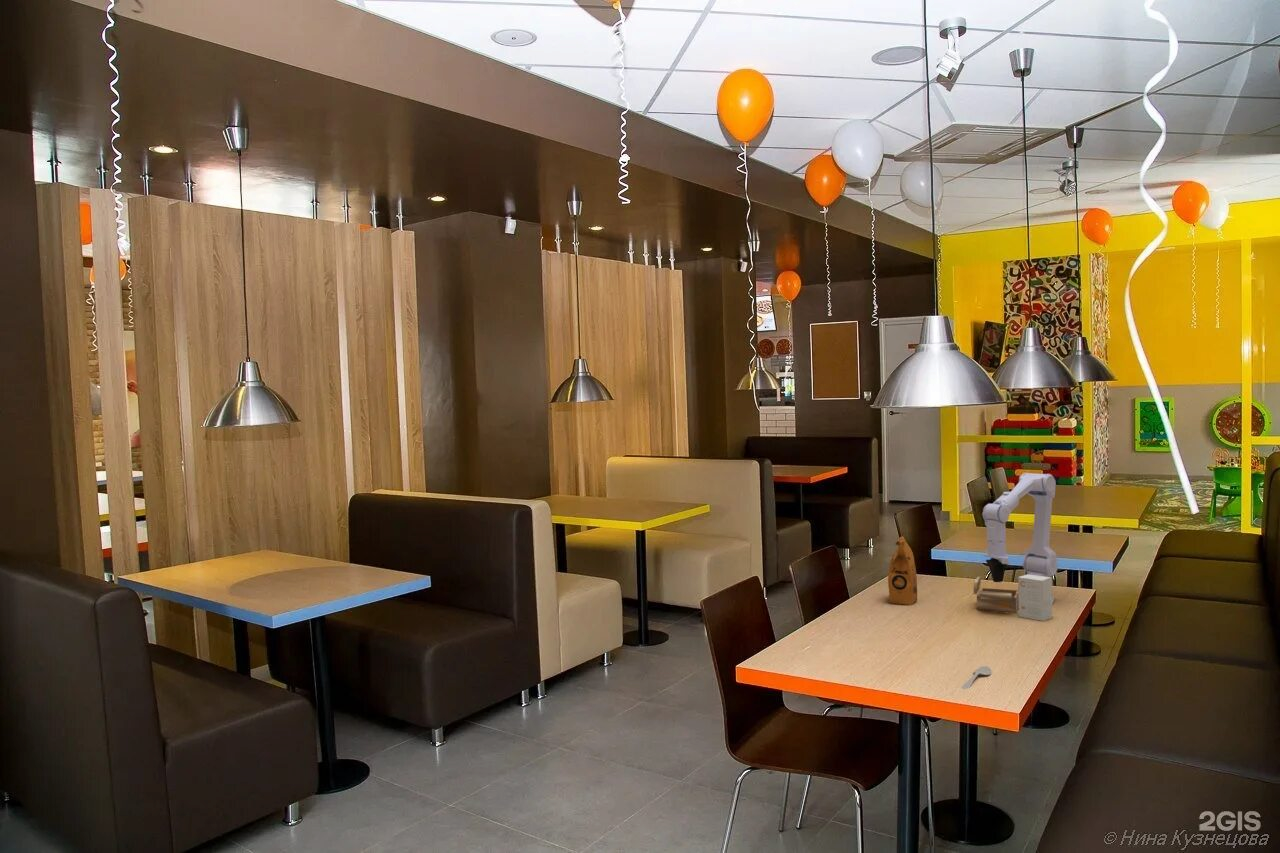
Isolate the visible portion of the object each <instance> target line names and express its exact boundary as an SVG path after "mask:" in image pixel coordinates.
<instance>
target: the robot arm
mask: <svg viewBox="0 0 1280 853" xmlns="http://www.w3.org/2000/svg"><path fill="white" fill-rule="evenodd" d="M1056 482H1057V481H1056V479H1055V477H1054V476H1053V475H1052V474H1051V473H1034V472H1033V473H1031V472H1023V473H1022V474H1021V475H1020V476H1019V478H1018V483H1016V485H1015V486H1014V487H1013V489H1012V490H1011V491H1003V493H1002V494H1001V495H1000V496H999V497H998V498H997V499H996V500H995V501H993V503H987V504H986V505H985V506H984V507H983V508H982V519H983V520H984V525H985V526H986V546H987V547H986V549H985V550H984V553H983V557H985V558H990V559H986V560H985V561H986V564H987V565H988V568H989V570H990V574H991V578H992V581H993V582H994V583H1002V580H1003V575H1004V572H1005V569H1006V568H1007V565H1009V564H1010V560H1009V559H1010V558H1009V557H1008V554H1007V539H1006V538H1007V537H1006V536H1007V535H1006V523H1007V521H1008V520H1009V518H1010V515H1011V514H1012V511H1013V510H1014V509H1016V508H1017V507H1018V505H1019V503H1020V499H1022V498H1023V497H1024V496H1025V495H1028V496H1030V497H1031V498H1032V499H1034V501H1035V506H1034V516H1033V518H1034V521H1033V533H1032V546H1030V547H1028V549H1025V552H1024V557H1023V561H1022V567H1023V570H1024V571H1025V573H1026V575H1027V574H1029V575H1036V576H1044V577H1051V582H1052V583H1053V576H1055V574H1056V573H1057V571H1058V568H1059V566H1058V564H1059V563H1058V561H1057V560H1058V559H1057V558H1058V557H1057V553H1056V552H1055V551H1054V550H1052V549H1051V548H1050V537H1051V536H1050V535H1051V521H1052V520H1051V519H1052V508H1053V499H1055V497H1056V496H1055V495H1056V486H1057V484H1056ZM1054 600H1055V596H1053V595H1052V605H1053V604H1054Z"/></svg>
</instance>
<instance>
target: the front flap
mask: <svg viewBox="0 0 1280 853" xmlns="http://www.w3.org/2000/svg"><path fill="white" fill-rule="evenodd" d="M979 591H980V590H979ZM980 597H981V599H992V600H1005V601H1012V594H1011V593H1004V592H990V591H980Z"/></svg>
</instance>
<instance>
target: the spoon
mask: <svg viewBox="0 0 1280 853" xmlns="http://www.w3.org/2000/svg"><path fill="white" fill-rule="evenodd" d="M991 674H992V669H991V668H990V667H989V666H988V665H983V666H981V667H979V668H977V669H975V670H973V675H972V676H971V678H970V679H968V680H967V681H966V682H965V683H963V685H962V686H961V689H962V690H967V689H969V688H971V686H972V685H973V683H974V680H976V678H977V677H978V676H983V677H985V676H990V675H991Z"/></svg>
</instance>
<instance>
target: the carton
mask: <svg viewBox="0 0 1280 853" xmlns="http://www.w3.org/2000/svg"><path fill="white" fill-rule="evenodd" d="M980 591H990V592H1004V593H1011V594H1012V601H1005V600H992V599H981V597H980ZM1017 609H1018V610H1019V592H1018V589H1016V590H1015V589H1004V588H1003V589H1001V588H990V587H980V589H979V591H978V593H977V594H976V611H981V610H984V611H983V612H993V611H996V613H1005V612H1008V614H1017V612H1018V610H1017ZM997 611H998V612H997ZM1009 612H1010V613H1009Z"/></svg>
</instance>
